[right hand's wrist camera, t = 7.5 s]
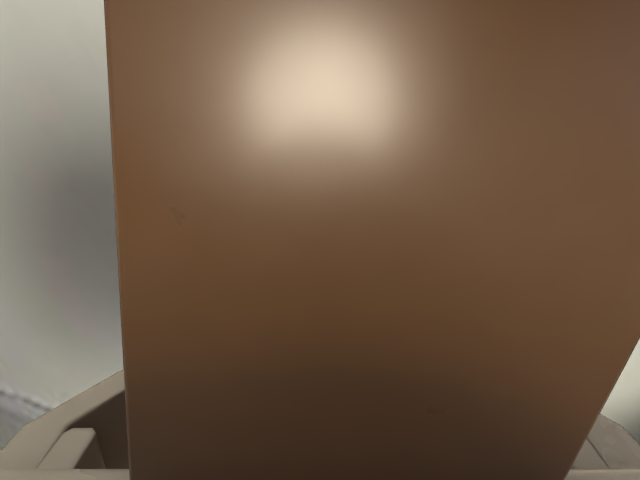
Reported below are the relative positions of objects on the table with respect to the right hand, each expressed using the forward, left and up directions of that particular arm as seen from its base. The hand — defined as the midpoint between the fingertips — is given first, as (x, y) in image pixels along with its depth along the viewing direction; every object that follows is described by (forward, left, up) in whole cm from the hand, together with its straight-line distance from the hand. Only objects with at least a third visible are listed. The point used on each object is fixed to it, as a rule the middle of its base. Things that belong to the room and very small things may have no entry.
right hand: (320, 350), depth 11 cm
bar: (+2, +9, -3) cm, 10 cm away
